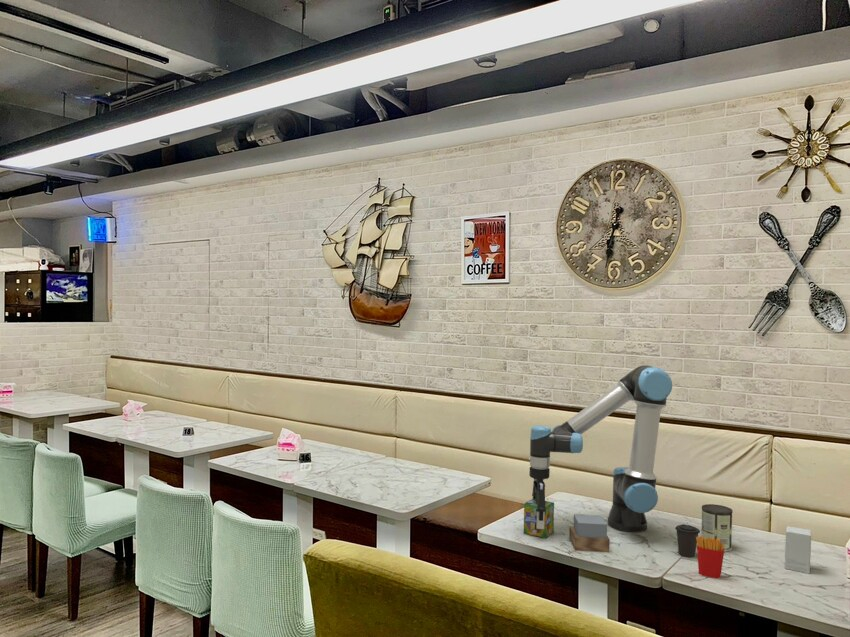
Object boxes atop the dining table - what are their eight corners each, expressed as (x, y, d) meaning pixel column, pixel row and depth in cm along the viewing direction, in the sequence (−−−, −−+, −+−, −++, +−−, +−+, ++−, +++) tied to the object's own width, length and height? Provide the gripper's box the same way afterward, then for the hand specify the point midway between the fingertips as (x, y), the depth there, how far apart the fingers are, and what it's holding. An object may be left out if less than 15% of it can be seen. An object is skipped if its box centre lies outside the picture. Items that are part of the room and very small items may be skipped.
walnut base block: (601, 541, 232) (602, 527, 232) (609, 553, 220) (609, 539, 220) (569, 539, 232) (569, 526, 232) (574, 551, 220) (575, 537, 220)
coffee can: (711, 539, 235) (713, 502, 235) (737, 549, 227) (738, 510, 227) (694, 544, 230) (695, 506, 230) (720, 553, 221) (721, 514, 221)
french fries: (723, 575, 202) (725, 538, 202) (722, 580, 198) (723, 542, 198) (695, 569, 206) (696, 533, 206) (693, 573, 203) (694, 536, 203)
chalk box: (545, 538, 231) (546, 499, 231) (522, 533, 236) (523, 494, 236) (554, 532, 239) (555, 493, 239) (532, 527, 244) (533, 489, 244)
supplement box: (810, 574, 205) (811, 535, 205) (784, 568, 209) (785, 531, 209) (810, 566, 211) (811, 529, 211) (785, 561, 215) (786, 525, 215)
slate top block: (600, 529, 230) (601, 515, 230) (606, 538, 220) (607, 524, 220) (573, 527, 231) (573, 514, 231) (577, 537, 221) (578, 522, 221)
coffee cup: (680, 548, 225) (681, 521, 225) (703, 555, 219) (703, 527, 219) (670, 554, 219) (671, 525, 219) (693, 561, 213) (694, 532, 213)
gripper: (526, 459, 251) (524, 512, 251) (533, 474, 226) (531, 533, 226) (545, 460, 250) (543, 512, 250) (554, 475, 225) (552, 534, 225)
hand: (538, 522), depth 238 cm, fingers open, 13 cm apart
